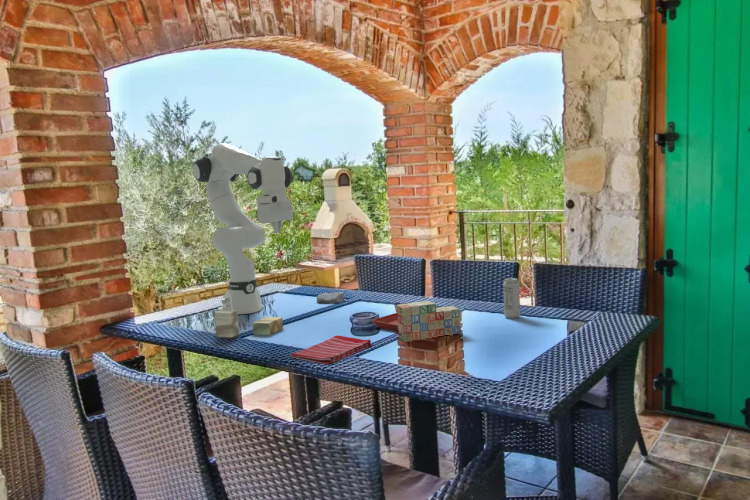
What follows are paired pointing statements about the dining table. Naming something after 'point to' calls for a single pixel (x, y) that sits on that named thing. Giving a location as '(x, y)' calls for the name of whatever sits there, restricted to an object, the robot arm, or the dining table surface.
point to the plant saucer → (387, 322)
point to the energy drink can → (511, 298)
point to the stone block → (330, 297)
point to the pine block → (227, 324)
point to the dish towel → (332, 349)
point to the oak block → (267, 325)
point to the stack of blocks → (426, 320)
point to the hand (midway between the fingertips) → (277, 232)
